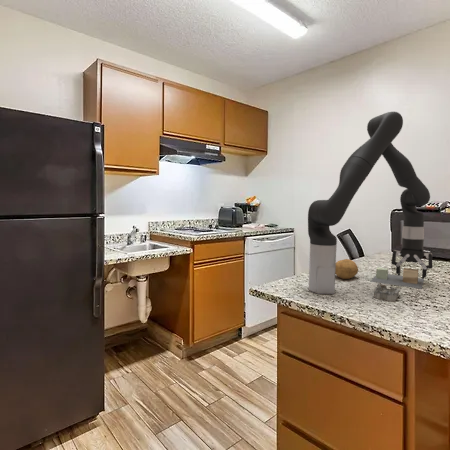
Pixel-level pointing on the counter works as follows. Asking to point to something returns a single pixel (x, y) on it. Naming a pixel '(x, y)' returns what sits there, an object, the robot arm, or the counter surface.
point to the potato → (346, 269)
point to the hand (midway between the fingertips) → (410, 276)
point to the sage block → (382, 273)
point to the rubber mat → (399, 281)
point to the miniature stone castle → (386, 292)
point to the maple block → (410, 275)
